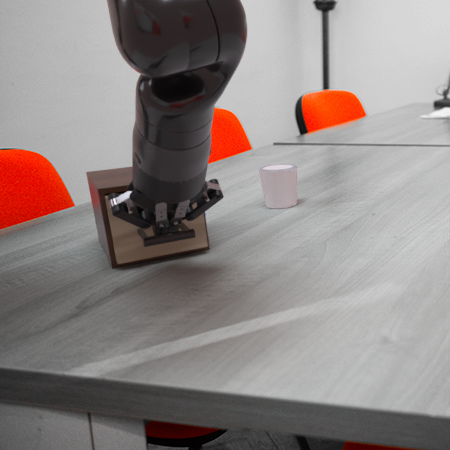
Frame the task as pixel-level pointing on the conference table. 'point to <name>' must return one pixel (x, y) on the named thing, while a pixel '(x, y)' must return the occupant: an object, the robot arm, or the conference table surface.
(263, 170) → the white cup
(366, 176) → the conference table surface
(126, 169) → the cabinet
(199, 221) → the drawer
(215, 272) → the conference table surface
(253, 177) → the conference table surface
